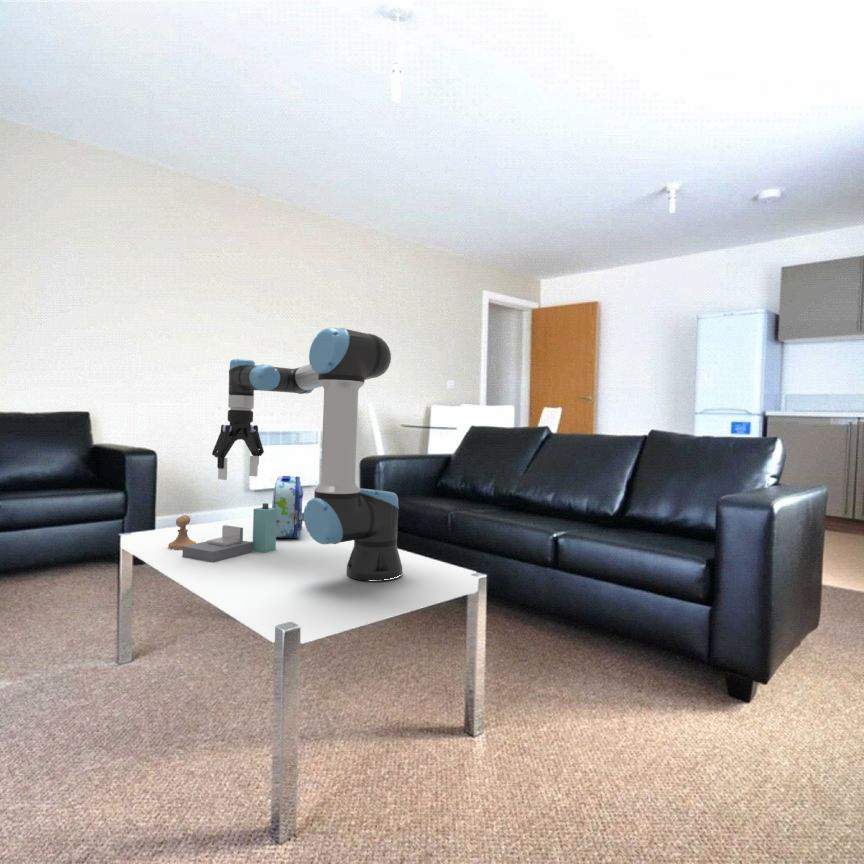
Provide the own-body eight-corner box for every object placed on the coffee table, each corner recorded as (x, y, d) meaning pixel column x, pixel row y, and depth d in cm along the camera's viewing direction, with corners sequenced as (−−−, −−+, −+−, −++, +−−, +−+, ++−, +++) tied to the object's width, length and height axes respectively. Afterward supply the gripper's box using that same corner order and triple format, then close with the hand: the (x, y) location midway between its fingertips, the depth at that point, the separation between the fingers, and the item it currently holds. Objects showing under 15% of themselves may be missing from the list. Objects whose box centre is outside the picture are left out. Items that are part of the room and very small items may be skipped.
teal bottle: (275, 549, 184) (277, 503, 184) (264, 552, 179) (266, 505, 179) (263, 547, 186) (264, 502, 186) (252, 550, 182) (253, 503, 181)
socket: (252, 551, 180) (252, 542, 179) (212, 562, 165) (213, 551, 165) (223, 546, 185) (223, 537, 185) (182, 556, 170) (182, 546, 170)
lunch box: (302, 541, 198) (304, 479, 197) (269, 541, 195) (271, 479, 195) (300, 527, 223) (302, 472, 223) (271, 527, 220) (273, 472, 220)
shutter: (242, 541, 179) (243, 527, 179) (225, 546, 172) (225, 531, 172) (225, 539, 182) (225, 525, 182) (207, 543, 175) (207, 528, 175)
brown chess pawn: (200, 514, 187) (193, 518, 179) (199, 544, 187) (192, 550, 179) (173, 513, 186) (165, 518, 178) (173, 544, 186) (164, 549, 178)
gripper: (258, 410, 193) (255, 473, 194) (200, 407, 170) (198, 479, 171) (276, 411, 190) (274, 475, 191) (220, 408, 167) (218, 482, 168)
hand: (238, 477), depth 181 cm, fingers open, 13 cm apart
